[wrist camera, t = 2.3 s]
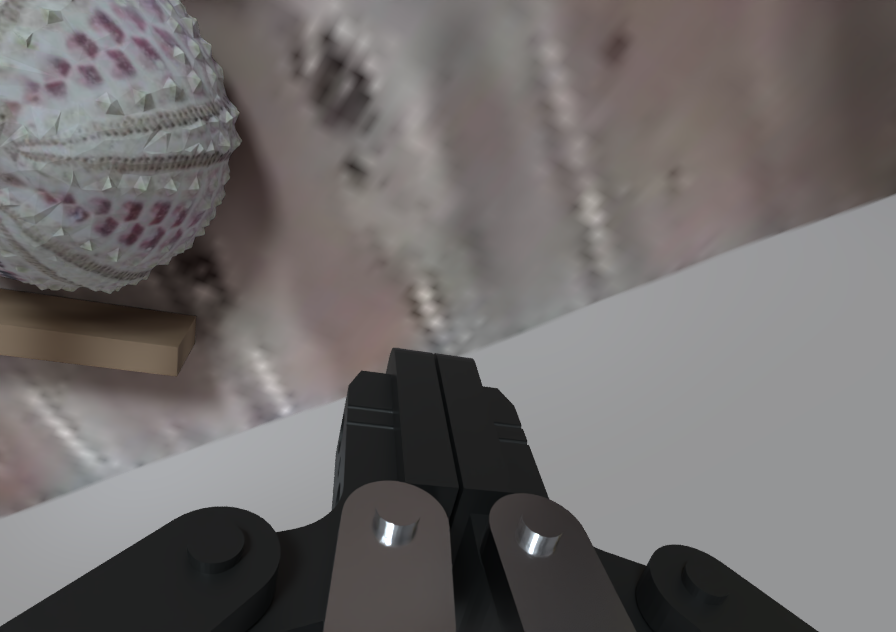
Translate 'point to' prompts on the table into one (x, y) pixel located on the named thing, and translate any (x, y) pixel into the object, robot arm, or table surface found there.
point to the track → (94, 333)
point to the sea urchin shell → (106, 139)
